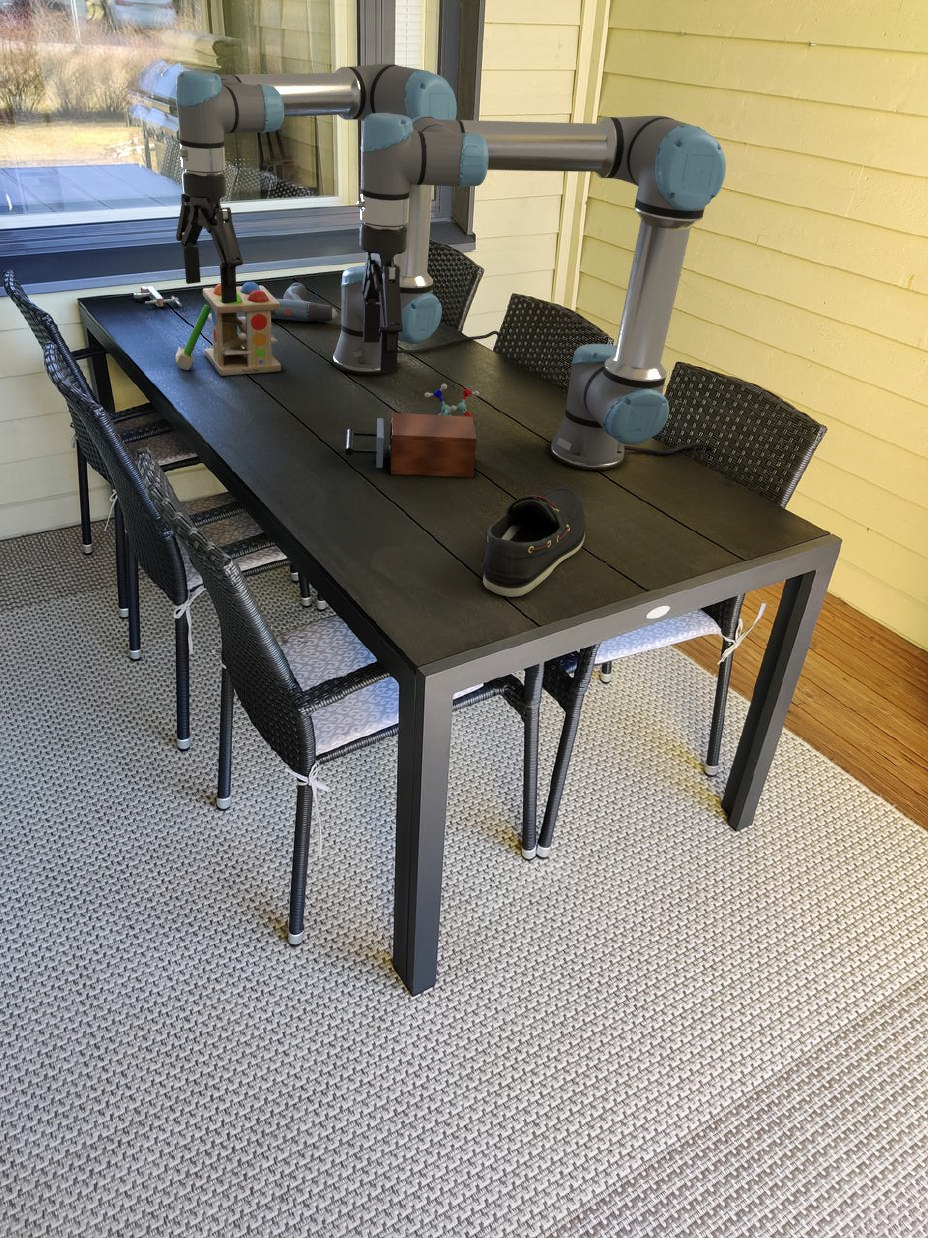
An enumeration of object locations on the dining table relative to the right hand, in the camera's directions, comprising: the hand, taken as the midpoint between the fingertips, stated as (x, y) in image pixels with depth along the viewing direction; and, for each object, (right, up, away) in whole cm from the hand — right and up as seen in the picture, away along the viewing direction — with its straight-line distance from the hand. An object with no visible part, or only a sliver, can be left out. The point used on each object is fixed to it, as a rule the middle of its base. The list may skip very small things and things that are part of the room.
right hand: (379, 355), depth 166 cm
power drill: (-29, +39, +101) cm, 112 cm away
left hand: (-34, +17, +19) cm, 42 cm away
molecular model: (+11, -2, +47) cm, 48 cm away
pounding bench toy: (-42, +15, +64) cm, 78 cm away
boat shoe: (+26, -33, +3) cm, 43 cm away
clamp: (-68, +40, +97) cm, 126 cm away
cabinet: (+8, -14, +29) cm, 33 cm away
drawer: (+1, -13, +28) cm, 31 cm away
